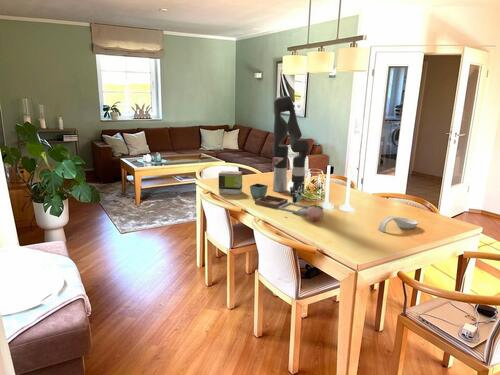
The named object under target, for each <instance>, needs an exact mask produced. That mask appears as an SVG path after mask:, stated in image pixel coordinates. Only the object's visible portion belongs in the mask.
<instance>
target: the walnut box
mask: <svg viewBox="0 0 500 375" xmlns="http://www.w3.org/2000/svg"><path fill="white" fill-rule="evenodd" d="M288 201H289V199H287V198H282V197H279V196H273V195H269V194H268V195H267V194H266V195H265V197H262V198H259V199H257V198H256V199H254V204H255V205H257V206H263V207H266V208H271V209H278V207H279V206H282V205H284V204H286V203H288Z"/></svg>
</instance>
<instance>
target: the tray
mask: <svg viewBox="0 0 500 375" xmlns="http://www.w3.org/2000/svg"><path fill="white" fill-rule="evenodd" d="M289 205H292V206H296V207H299V208H300V207H301V208H300V209H298V210H294V209H291V208H285V207H287V206H289ZM308 206H309V205H304V204H300V203H297V202H296V203H293V202H291V201H289V202H288V203H286V204H284V205H282V206H279V207H278V208H277V210H281V211H285V212H290V213H291V214H293V215H296V216H301V217H306V216H308V215H307V209H308V208H309V207H308Z"/></svg>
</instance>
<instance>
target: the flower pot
mask: <svg viewBox="0 0 500 375" xmlns="http://www.w3.org/2000/svg"><path fill="white" fill-rule="evenodd" d="M249 189H250V195H251V197H252V198H253V199H256V200H257V199H259V198H262V197H265V196H267V192H268V184H263V183H259V182H258V183H254V184H251V185H249Z"/></svg>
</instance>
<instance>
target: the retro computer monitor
mask: <svg viewBox="0 0 500 375" xmlns="http://www.w3.org/2000/svg"><path fill="white" fill-rule="evenodd" d="M241 193H243V171H242V170H240V171H235V170H221V171H220V172H218V194H221V195H222V194H225V195H236V196H237V195H241Z"/></svg>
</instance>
